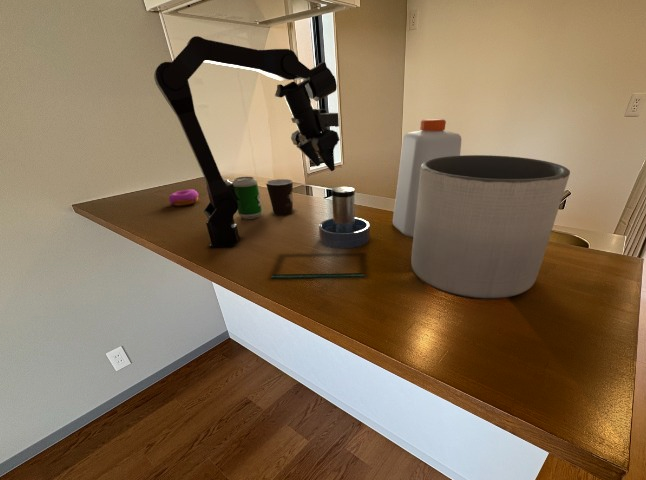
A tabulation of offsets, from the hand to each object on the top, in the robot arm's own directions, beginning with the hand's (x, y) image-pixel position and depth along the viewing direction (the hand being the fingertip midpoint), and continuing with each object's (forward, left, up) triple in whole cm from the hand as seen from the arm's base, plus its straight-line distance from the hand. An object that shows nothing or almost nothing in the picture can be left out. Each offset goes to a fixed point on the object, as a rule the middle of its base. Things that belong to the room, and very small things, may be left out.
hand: (325, 167), depth 91 cm
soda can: (-26, +7, -16) cm, 32 cm away
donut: (-55, +24, -16) cm, 62 cm away
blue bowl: (+5, -16, -16) cm, 23 cm away
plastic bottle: (+28, -8, -16) cm, 33 cm away
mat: (0, -31, -16) cm, 35 cm away
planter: (+33, -36, -16) cm, 51 cm away
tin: (+5, -16, -15) cm, 23 cm away
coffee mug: (-15, +12, -16) cm, 25 cm away
